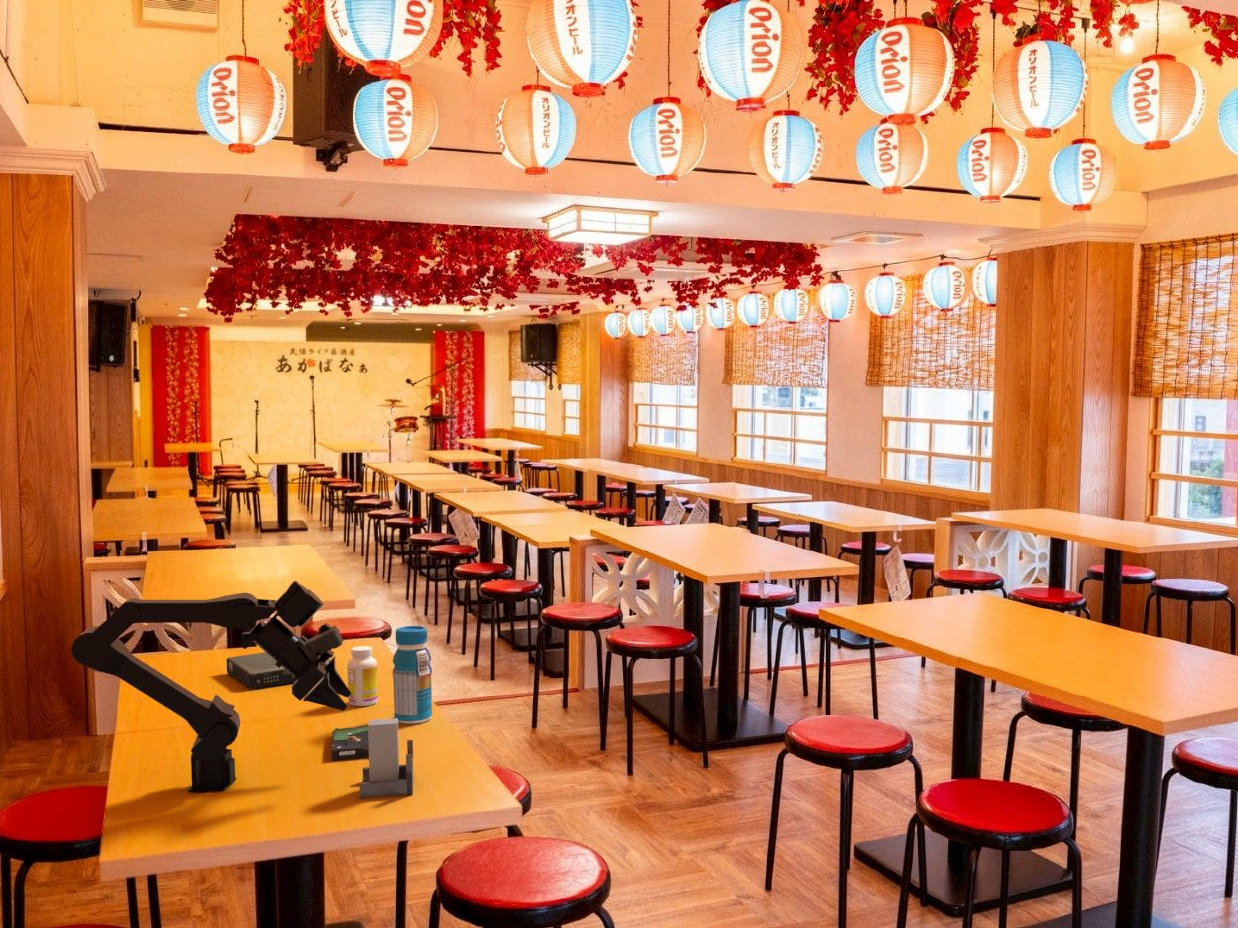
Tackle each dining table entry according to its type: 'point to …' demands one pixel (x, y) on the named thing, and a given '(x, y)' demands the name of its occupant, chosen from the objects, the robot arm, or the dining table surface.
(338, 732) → the disk drive
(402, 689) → the beverage bottle
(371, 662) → the supplement bottle
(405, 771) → the rack
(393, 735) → the grey block
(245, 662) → the network switch
